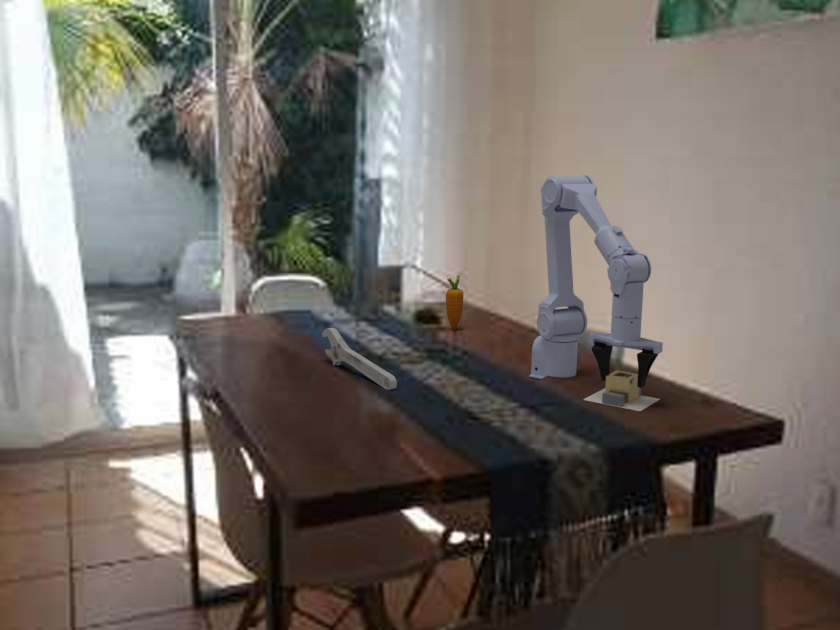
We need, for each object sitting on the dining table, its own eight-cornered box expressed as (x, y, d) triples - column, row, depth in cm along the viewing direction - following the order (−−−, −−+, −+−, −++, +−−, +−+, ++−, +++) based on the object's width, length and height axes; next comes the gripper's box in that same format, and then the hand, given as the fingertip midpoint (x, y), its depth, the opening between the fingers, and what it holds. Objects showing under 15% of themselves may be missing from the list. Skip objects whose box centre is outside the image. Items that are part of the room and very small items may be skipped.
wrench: (388, 404, 188) (320, 357, 211) (395, 402, 189) (327, 356, 212) (391, 368, 185) (322, 325, 208) (398, 366, 186) (328, 324, 209)
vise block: (582, 405, 178) (584, 377, 177) (604, 393, 186) (605, 367, 185) (639, 417, 171) (641, 388, 170) (659, 404, 179) (661, 377, 178)
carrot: (448, 332, 240) (448, 277, 237) (442, 328, 245) (443, 274, 242) (465, 331, 242) (466, 276, 238) (459, 327, 246) (461, 273, 243)
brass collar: (604, 399, 178) (606, 375, 177) (615, 394, 182) (616, 370, 181) (628, 404, 175) (629, 379, 174) (638, 398, 179) (640, 374, 178)
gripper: (583, 314, 176) (580, 381, 179) (654, 324, 168) (650, 394, 170) (599, 309, 181) (595, 373, 184) (668, 318, 173) (664, 386, 176)
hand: (622, 383), depth 178 cm, fingers open, 7 cm apart
